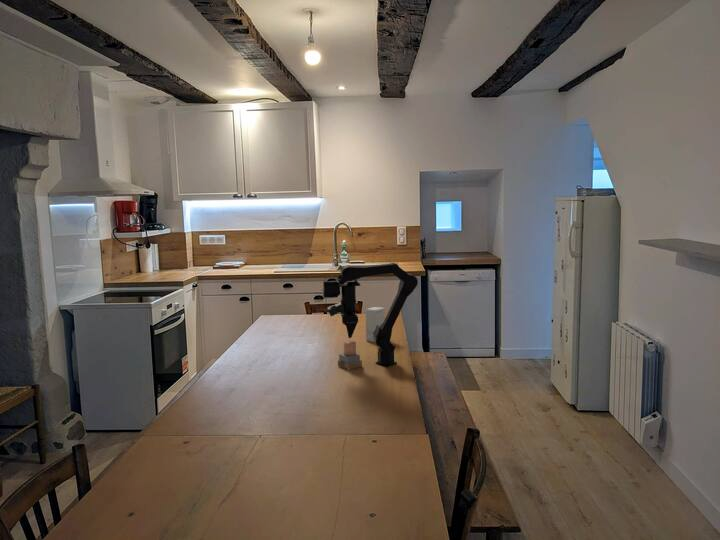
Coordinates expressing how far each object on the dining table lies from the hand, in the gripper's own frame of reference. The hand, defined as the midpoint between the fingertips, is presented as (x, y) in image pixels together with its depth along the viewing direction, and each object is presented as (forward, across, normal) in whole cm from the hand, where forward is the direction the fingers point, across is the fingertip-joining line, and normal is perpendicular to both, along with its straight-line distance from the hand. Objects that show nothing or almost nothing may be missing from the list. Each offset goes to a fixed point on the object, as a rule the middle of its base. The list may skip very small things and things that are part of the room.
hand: (349, 334), depth 219 cm
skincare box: (+13, -38, +15) cm, 43 cm away
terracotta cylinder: (+8, 0, 0) cm, 8 cm away
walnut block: (+14, 0, 0) cm, 14 cm away
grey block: (+11, 0, 0) cm, 11 cm away
